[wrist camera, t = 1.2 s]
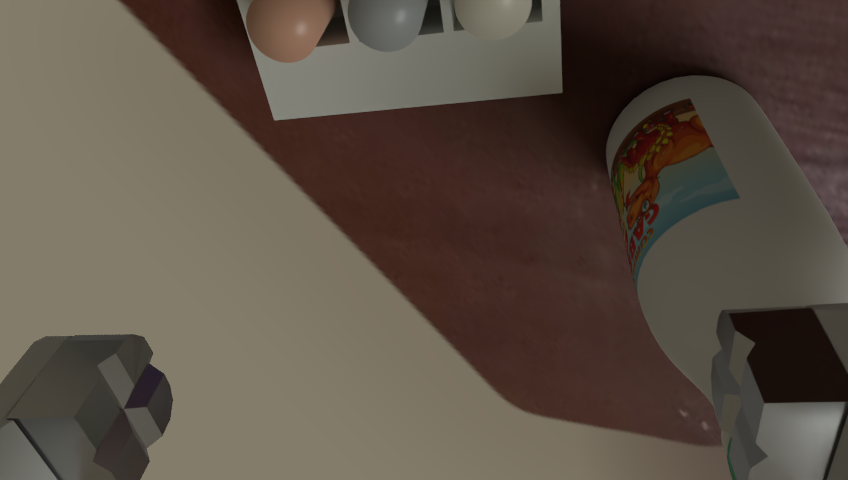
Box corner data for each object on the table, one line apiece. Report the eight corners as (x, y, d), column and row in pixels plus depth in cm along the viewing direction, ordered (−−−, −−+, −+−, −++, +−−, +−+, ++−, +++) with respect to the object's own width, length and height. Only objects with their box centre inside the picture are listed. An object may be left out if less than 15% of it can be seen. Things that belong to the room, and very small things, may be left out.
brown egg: (269, -40, 29) (236, -5, 25) (332, -49, 28) (308, -14, 25) (286, 25, 30) (258, 66, 27) (347, 17, 30) (326, 58, 26)
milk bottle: (740, 42, 32) (975, 371, 16) (777, 170, 35) (995, 536, 20) (581, 109, 34) (647, 445, 19) (632, 221, 38) (721, 577, 22)
